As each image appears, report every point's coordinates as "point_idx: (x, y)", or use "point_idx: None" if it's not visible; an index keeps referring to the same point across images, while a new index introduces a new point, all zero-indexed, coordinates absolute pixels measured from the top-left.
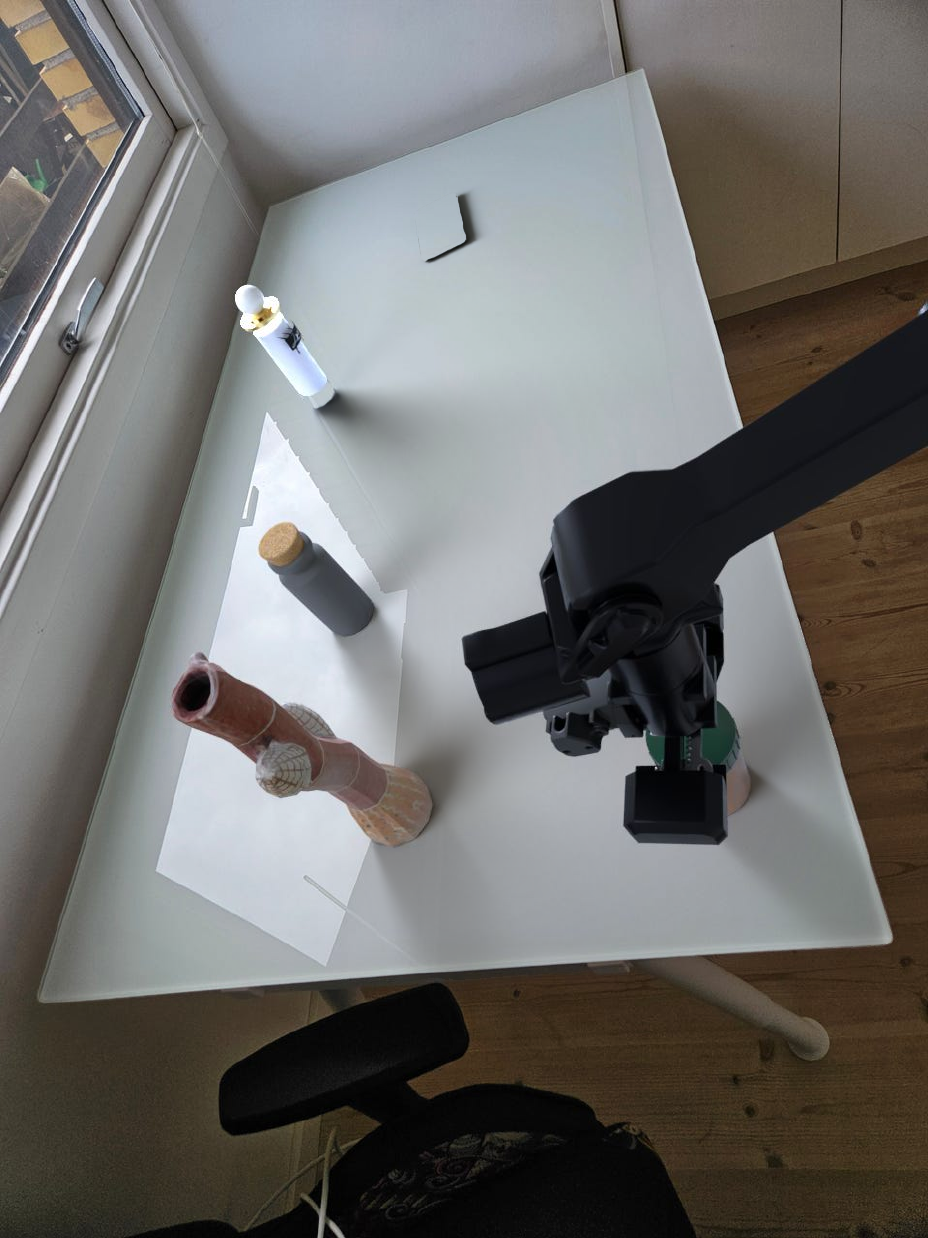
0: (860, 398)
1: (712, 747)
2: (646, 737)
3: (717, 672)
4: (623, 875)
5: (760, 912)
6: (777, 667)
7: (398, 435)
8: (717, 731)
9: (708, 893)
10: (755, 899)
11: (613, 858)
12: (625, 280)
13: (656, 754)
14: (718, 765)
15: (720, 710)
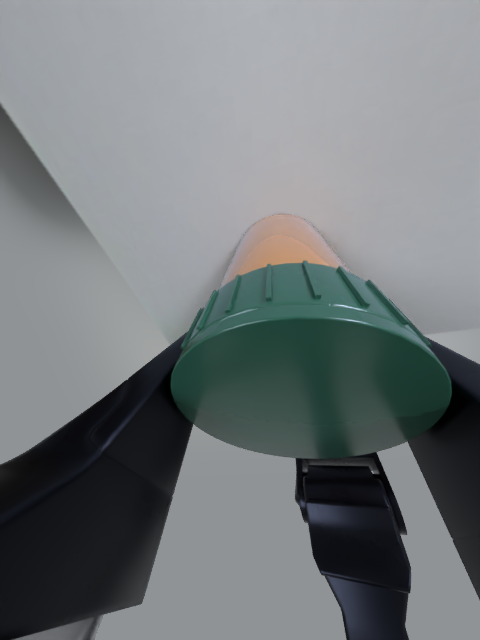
0: None
1: (252, 436)
2: (279, 321)
3: (478, 584)
4: (129, 148)
5: (165, 308)
6: (417, 319)
7: None
8: (290, 445)
9: (160, 267)
10: (173, 305)
11: (144, 118)
12: None
13: (210, 353)
14: (131, 604)
15: (344, 453)
